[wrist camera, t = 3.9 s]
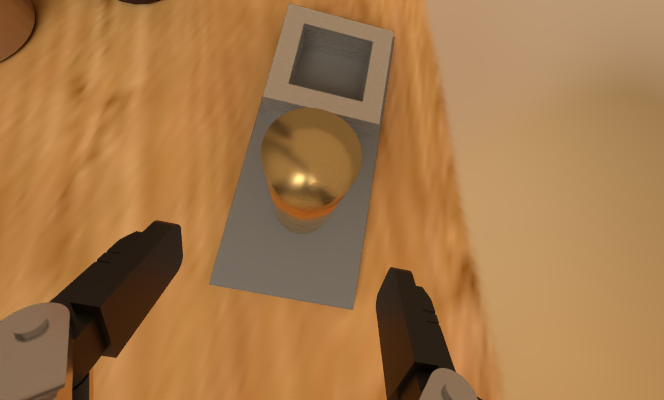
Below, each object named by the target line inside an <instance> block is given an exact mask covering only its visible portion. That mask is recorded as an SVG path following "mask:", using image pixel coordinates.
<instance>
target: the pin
mask: <svg viewBox="0 0 664 400" xmlns="http://www.w3.org/2000/svg"><path fill="white" fill-rule="evenodd" d="M261 162H262V165H263V169H264V173H265V176H266V180H267V183H268V187H269V190H270V194H271V198H272V201H273V205H274V208H275V212H276V215H277V218H278V220H279V222H280V223H281V224H282V226H283V227H285V228H286V229H287V230H289V231H291V232H293V233H297V234H308V233H311V232H314V231H316V230H317V229H319V228H320V227H321V226H322V225H323V224H324V223H325V221H326V220H327V218H328V217H329V216H330V214H331V213H332V212H333V210H334V209H335V207H336V206H337V205H338V203H339V202H340V201H341V199H342V198H343V196H344V195H345V194H346V192H347V191H348V190H349V188H350V187H351V185H352V184H353V183H354V181H355V180H356V178H357V176H358V174H359V171H360V168H361V163H362V151H361V146H360V143H359V140H358V138H357V136H356V134H355V132H354V131H353V129H352V128H351V127H350V126H349V124H348V123H346V122H345V121H344V120H343V119H342V118H340V117H339V116H337V115H335V114H334V113H331V112H329V111H326V110H323V109H318V108H300V109H295V110H292V111H289V112H287V113H285V114H283V115H282V116H280V117H279V118H277V119H276V120H275V121H274V122H273V123H272V124H271V125H270V127H269V128H268V129H267V131H266V133H265V135H264V137H263V140H262V144H261Z"/></svg>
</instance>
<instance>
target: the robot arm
mask: <svg viewBox="0 0 664 400" xmlns="http://www.w3.org/2000/svg"><path fill="white" fill-rule="evenodd" d="M34 22H35V12H34V7H33V4H32V2H31V0H0V61H2V60H4V59H5V58H7V57H8V56H10V55H12V54H13V53H15V52H16V51H17V50H18V49H19V48H20V47H21V46H22V45H23V44H24V43H25V42H26V40H27V39H28V37H29V36H30V34H31V32H32V29H33V26H34ZM182 259H183V250H182V236H181V227H180V225H178V224H173V223H168V222H163V221H158V220H157V221H154V222H153V223H152V224H151V225H150V226H148V227H147V228H146V229H145V230H144V231H143V232H138V231H136V232H134V233H132V234H130V235H128V236H126V237H124V238H122V239H120V240H119V241H117V242H116V243H115V244H114V245H113V246H112V247H111V248H110V249H108V251H107V253H104V254H103V255H102V256H101V257H100V258H98V259H97V262H94V263H93V264H92V265H91V266H89V267H88V268H87V269H86V270H85V271H84V272H83V273H82V274H81V275H79V276H78V277H77V278H76V279H75V280H74V281H73V282H72V283H70V284H69V285H68V286H67V287H66V288H65V289H64V290H63V291H62V292H60V293H59V294H58V295H57V296H56V297H55V298H54V299H52V300H51V301H50V302H49V303H40V304H35V305H32V306H28V307H26V308H23V309H21V310H18V311H16V312H14V313H13V314H11V315H9V316H7V317H6V318H5V319H3V320H2V321H0V400H93V368H92V367H93V366H94V365H95V363H96V362H97V361H98V359H99V358H100V357H101V356H108V357H114V358H116V357H117V356H118V355H119V353H120V352H121V350H122V349H123V348H124V346H125V345H126V343H127V342H128V341H129V339H130V338H131V336H132V335H133V334H134V332H135V331H136V329H137V328H138V327H139V325H140V324H141V322H142V321H143V320H144V318H145V317H146V315H147V314H148V313H149V311H150V310H151V308H152V307H153V306H154V304H155V303H156V301H157V300H158V299H159V297H160V296H161V294H162V293H163V292H164V290H165V289H166V287H167V286H168V285H169V283H170V282H171V280H172V279H173V278H174V276H175V275H176V273H177V272H178V270H179V268H180V266H181V263H182ZM376 313H377V321H378V329H379V337H380V345H381V354H382V362H383V370H384V378H385V387H386V395H387V400H482V399H480V398H478V397H477V396H476V394H475V392H474V390H473V389H472V387H471V386H470V385H469V383H468V382H467V381H466V380H465V379H464V378H463V377H462V376H461V375H459V374H458V373H456V371H455V369H454V366H453V363H452V360H451V357H450V354H449V351H448V348H447V345H446V342H445V339H444V336H443V333H442V330H441V328H440V326H439V322H438V319H437V316H436V315H435V310H434V307H433V304H432V301H431V299H430V297H429V296H428V294H427V293H426V292H425V290H424V289H423V288H422V287H419V286H416V285H415V281H414V278H413V275H412V272H411V271H408V270H403V269H398V268H393V267H391V268H390V269H389V271H388V273H387V275H386V277H385V279H384V281H383V284H382V286H381V288H380V290H379V292H378V295H377V300H376Z"/></svg>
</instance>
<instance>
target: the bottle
mask: <svg viewBox="0 0 664 400" xmlns="http://www.w3.org/2000/svg"><path fill="white" fill-rule="evenodd" d="M119 1H122V2H126V3H132V4H149V3H153V2H156V1H160V0H119Z"/></svg>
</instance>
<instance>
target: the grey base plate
mask: <svg viewBox="0 0 664 400" xmlns="http://www.w3.org/2000/svg"><path fill="white" fill-rule="evenodd" d="M393 44H394V37H393V38H392V45H391V51H390V58H389V64H388V71H387V77H386V84H385V90H384V97H383V103H382V110H381V116H380V123H379V125H378V127H377V129H376V131H375V132H374V134H373V136H372V137H371V139H366V138H362V137H358V136H357V138H358V140H359V143H360V146H361V151H362V163H361V168H360V171H359V174H358V176H357V178H356V180H355V181H354V183H353V184H352V185H351V187H350V188H349V190H348V191H347V192H346V194H345V195H344V196H343V198H342V199H341V201H340V202H339V203H338V205H337V206H336V207H335V209H334V210H333V212H332V213H331V214H330V216H329V217H328V218H327V220H326V221H325V223H324V224H323V225H322V226H321V227H320V228H319V229H317V230H316V231H314V232H311V233H308V234H297V233H293V232H291V231H289V230H287V229H286V228H285V227H283V226H282V224H281V223H280V222H279V220H278V218H277V215H276V212H275V208H274V205H273V201H272V198H271V194H270V190H269V187H268V183H267V180H266V176H265V173H264V169H263V165H262V162H261V144H262V140H263V137H264V135H265V133H266V131H267V129H268V128H269V127H270V125H271V124H272V123H273V122H274V121H275V120H276V119H277V118H276V117H272V116H268V115H266V111H265V106H264V101H263V97H262V101H261V104H260V108H259V111H258V115H257V118H256V122H255V125H254V129H253V132H252V136H251V139H250V143H249V146H248V150H247V153H246V157H245V160H244V164H243V167H242V171H241V174H240V178H239V181H238V185H237V188H236V191H235V195H234V198H233V202H232V205H231V209H230V212H229V216H228V219H227V223H226V226H225V230H224V233H223V237H222V240H221V244H220V247H219V251H218V254H217V258H216V261H215V265H214V268H213V272H212V275H211V279H210V282H209V284H210V285H216V286H221V287H227V288H232V289H238V290H244V291H249V292H255V293H260V294H266V295H272V296H277V297H283V298H288V299H294V300H300V301H305V302H311V303H316V304H322V305H328V306H333V307H339V308H344V309H350V310H353V308H354V301H355V294H356V288H357V281H358V275H359V268H360V261H361V255H362V248H363V242H364V235H365V229H366V222H367V215H368V209H369V202H370V196H371V189H372V182H373V176H374V169H375V163H376V156H377V149H378V143H379V136H380V130H381V123H382V117H383V110H384V103H385V97H386V90H387V84H388V77H389V70H390V64H391V57H392V51H393ZM364 69H365V64H364V63H360V62H356V61H352V60H348V59H344V58H340V57H337V56H333V55H329V54H325V53H321V52H317V51H313V50H309V49H305V48H303V50H302V54H301V58H300V62H299V66H298V70H297V74H296V78H295V82H294V85H296V86H300V87H304V88H308V89H312V90H316V91H320V92H324V93H328V94H332V95H337V96H341V97H345V98H349V99H353V100H357V101H359V97H360V91H361V86H362V80H363V74H364Z"/></svg>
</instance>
